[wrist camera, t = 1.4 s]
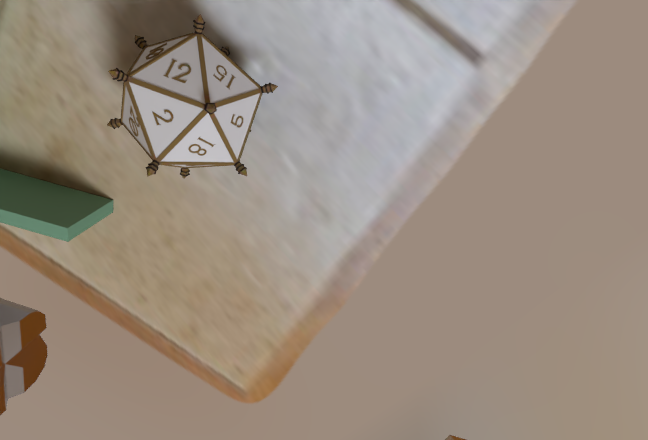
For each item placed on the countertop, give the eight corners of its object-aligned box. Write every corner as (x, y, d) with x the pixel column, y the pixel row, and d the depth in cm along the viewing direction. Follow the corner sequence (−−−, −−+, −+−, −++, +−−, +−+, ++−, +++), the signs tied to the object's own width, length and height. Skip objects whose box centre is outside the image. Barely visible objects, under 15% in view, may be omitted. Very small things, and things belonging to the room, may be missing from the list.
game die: (242, 115, 33) (179, 231, 29) (139, 28, 29) (46, 148, 25) (324, 66, 27) (259, 207, 22) (206, -55, 23) (95, 88, 18)
